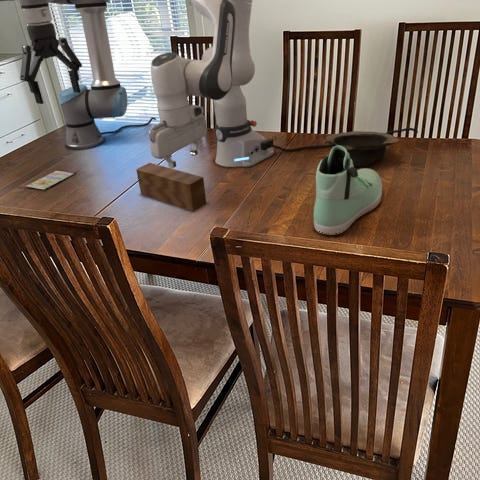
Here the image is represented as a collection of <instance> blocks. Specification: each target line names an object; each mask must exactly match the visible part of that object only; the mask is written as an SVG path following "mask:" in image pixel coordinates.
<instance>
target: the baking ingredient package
mask: <svg viewBox="0 0 480 480" xmlns="http://www.w3.org/2000/svg"><path fill="white" fill-rule="evenodd" d="M74 174H75V173H74V172H67V171H62V170H55V171H53V172H51V173H49V174H46V175H45V176H43V177H41V178H39V179H37V180H35V181H33V182H31V183H29V184H27V185H26V187H28V188H33V189H38V190H46V189H47V188H50V187H51V186H53V185H55V184H57V183H59V182H60V181H64V180H65V179H67V178H69V177H71V176H72V175H74Z"/></svg>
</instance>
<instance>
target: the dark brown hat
mask: <svg viewBox="0 0 480 480" xmlns="http://www.w3.org/2000/svg"><path fill="white" fill-rule="evenodd" d="M385 133H386V132H380V131H379V132H378V131H362V130H361V131H360V130H354V131H353V130H352V131H345V132H343V131H342V132H338V133H333V134H330V135H328V136H326V138H325V141H324V143H327V145H329V144H331V145H334V146H342V147H344V148H345V149H346V150H347V152H348V153H349V156H350V159H352V161H353V166H354V167H361V166H370V165H372V164H373V162H374V161H383V160H384V159H385V157H386V152H387V151H386V150H387V147H389V146H391V145H394V144H396V143H398V142H399V139H398V138H397V137H395V136H394V135H392V134H385Z"/></svg>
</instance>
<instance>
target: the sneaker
mask: <svg viewBox="0 0 480 480" xmlns="http://www.w3.org/2000/svg"><path fill="white" fill-rule="evenodd" d="M317 165H318V166H317V168H316V172H315V201H314V207H313V225H314V229H315V231H316V232H318V233H320V234H323V235H326V236H327V235H328V236H336V235H339V234H342V233H344V232H345V231H347V230H348V229H349V228H350V227H351V226H352V225H353V224H354V222H356V221H357V220H358V219H359V218H360V217H362V216H363V215H365V214H367V213H370V212H372V210H374V209H375V208H377V207H378V205H380V203H381V200H382V196H383V184H382V183H383V182H382V179H381V176H380V175H379V173H378V172H377V171H376V170H374V169H372V168H367V167H365V168H358V169H357V168H355V166H353V161H352V159H350V156H349V153H348V152H347V150H346V149H345V148H344V147H342V146H334V147H331V149H330V151H329V154H327V155H326V156H325V157H324V158H322V159H321V160H320V161H319V163H318V164H317ZM343 230H344V231H343ZM319 231H320V232H319ZM322 232H323V233H322ZM339 232H340V233H339ZM326 233H327V234H326ZM328 233H329V234H328ZM335 233H337V234H335Z"/></svg>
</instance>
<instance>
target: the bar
mask: <svg viewBox="0 0 480 480" xmlns="http://www.w3.org/2000/svg"><path fill="white" fill-rule="evenodd" d="M135 171H136V175H137V181H138V186H139V191H140V194H141V196H145V197H147V198H150V199H153V200H157V201H159V202H163V203H165V204H169V205H172V206H175V207H178V208H180V209H184V210H187V211H190V212H196V211H197V210H199V209H202V207H204V206H206V205H207V196H206V188H205V179H204V176H201V175H197V174H193V173H189V172H186V171H182V170H179V169H175V168H169V167H167V166H164V165H159V164H156V163H152V162H148V163H146V164H144V165H142V166H140V167H137V168H136V169H135Z"/></svg>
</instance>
